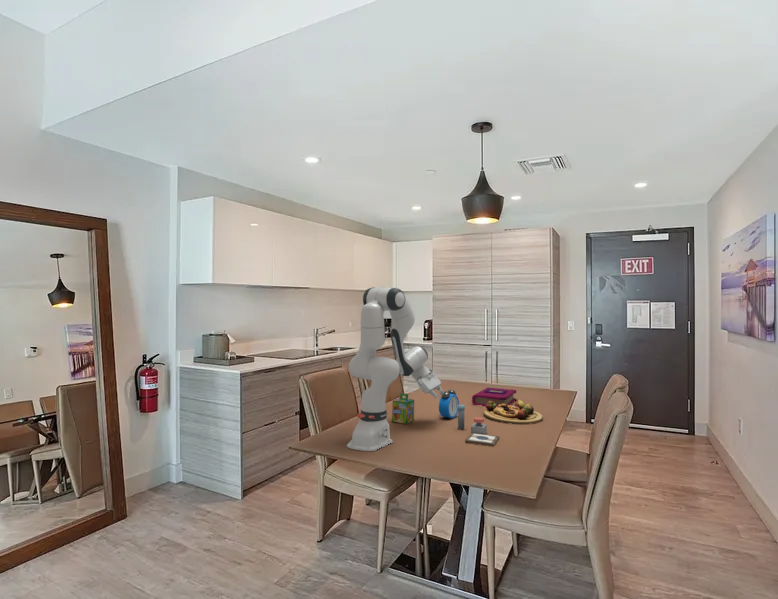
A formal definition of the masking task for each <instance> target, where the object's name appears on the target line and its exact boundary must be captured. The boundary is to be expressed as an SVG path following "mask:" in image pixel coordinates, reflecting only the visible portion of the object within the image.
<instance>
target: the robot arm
mask: <svg viewBox="0 0 778 599" xmlns="http://www.w3.org/2000/svg"><path fill="white" fill-rule="evenodd" d="M362 304H363V306H361V307H362V308H361V311H360V312H361V313H360V344H359V349H358V350H357V353H356V354H355V355H354V356H353V357H352V358H351V360H350V361H349V363H348V371H349V373H350V374H351V376H353V377H356V378H358V379H361V380H369V381H371V383H370V384H371V385H370V387H368V388H366V389H365V390H364V391H363V392H362V393H361V410H360V412H359V413H357V418H358V419H359V420H358V423H357V424H356V426H355V428H354V430H353V432H352V439H351V440H350V441H349V442H348V443H346V448H348V449H351V450H356V451H364V452H375V451H377V449H378V450H379V448H380V449H382V448H384V447H387V446H389V445H391V444H392V443H393V439H391V436H390V435H391V434H390V432H391V431H390V424H389V423H388V420H387V414H388V413H387V409H386V404H387V402H386V401H387V393H388V389H389V387H390V386H391V384H392V383H393V382H394V381H396V380H397V379H398V377H399V376H403V377H410V376H411V377H412V378H413V379H414V380H415V381H416V383H417V385H418V387H419V388H420V390H421V391H422V392H423V393H424V394H426V395H428V394H429V395H431V396H432V397H434V399H438V398H439V397H440V396H439V395H438V393H436V392H435V391H434V390H437V391H438V392H439V394H440V395H442V394H444V392H445V391H444V390H443V389H442V387H441V385H442V381H441V380H440V379H439V378H438V376H437V375H436V374H435V373H434V370H433V369H431V368H428V367H427V366H426V365H425V363H427V361H428V359H429V353H428V351H427V350H426V349H425V347H422V346H421V345H416V346H413V347H412V348H405V346H404V342H405V341H404V340H405V338H406V336H407V334H408V333H409V332H410V331H411V329H412V328H413V326H414V324H415V314H414V311H413V308H412V305H411V303H410V301H409V298H408V297H407V295H406V294H405V293H404V291H403V290H402V289H400V288H397V287H385V286H379V287H373V286H372V287H369V288H367V289H365V291H364V293H363V295H362ZM387 311H388V312H389V315H390V318H391V322H392V323H391V324H392V325H391V330H390V340H391V346H392V350H393V356H394V359H393V358H391V357H386V356H377V355H376V354H377V350H378V349H379V348H381V347H382V346H384V344H385V341H386V338H385V336H386V335H385V334H386V331H385V329H386V328H385V317H384V313H385V312H387ZM390 443H391V444H390ZM388 444H389V445H388ZM381 447H382V448H381Z"/></svg>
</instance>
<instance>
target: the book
mask: <svg viewBox="0 0 778 599" xmlns="http://www.w3.org/2000/svg"><path fill="white" fill-rule="evenodd" d="M516 393H517V389H508V388H500V387H499V388H497V387H486V388H483V389H482V390H480V391H479V392H477V393H475V394H473V395H472V397H471V403H472V405H473V404H474V405H473V406H477V405H482V406H481V407H486V404H487V402H488V401H492V402H494V403H495V404H496V407H498V405H499V404H506V405H510V404H511V403H512V402H513V403H515V402H516V401H517V398H516V397H514V394H516ZM515 400H516V401H515ZM514 401H515V402H514ZM513 403H512V404H513ZM512 404H511V405H512Z"/></svg>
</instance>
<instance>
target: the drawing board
mask: <svg viewBox="0 0 778 599" xmlns="http://www.w3.org/2000/svg"><path fill="white" fill-rule="evenodd" d="M499 439H500V436H499V435H491V434H485V435H483V434H475V433H472V434H471V433H470V434H469V436H468V437H467V438H466V439H465V440H464V442H467V443H466V444H471V443H475V444H474V445H478V444H481V445H480V446H486V445H488V447H495V445H496V444H497V442H498V441H499Z"/></svg>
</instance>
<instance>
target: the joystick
mask: <svg viewBox="0 0 778 599" xmlns="http://www.w3.org/2000/svg"><path fill="white" fill-rule="evenodd" d="M465 410H466V406H465V404H460V403H459V405H458V413H457V429H458V430H459V429H464V430H465Z"/></svg>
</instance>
